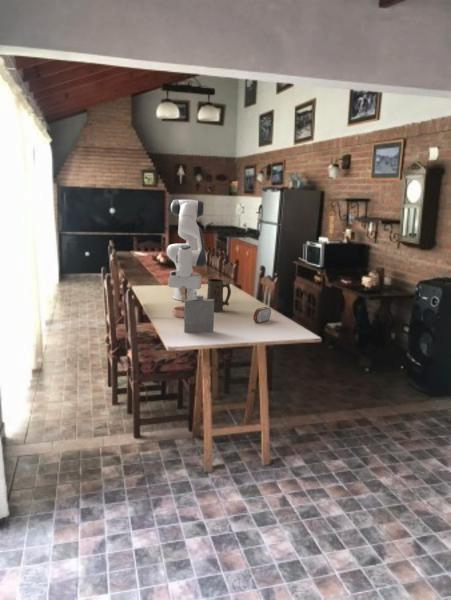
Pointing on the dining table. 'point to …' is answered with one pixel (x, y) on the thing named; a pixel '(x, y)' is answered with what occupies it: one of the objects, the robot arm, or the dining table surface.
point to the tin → (262, 314)
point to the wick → (184, 294)
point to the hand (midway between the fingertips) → (184, 295)
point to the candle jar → (178, 311)
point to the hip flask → (199, 315)
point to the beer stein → (218, 293)
